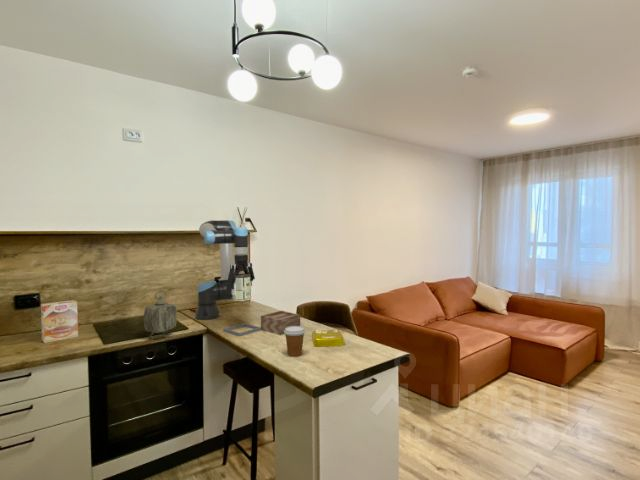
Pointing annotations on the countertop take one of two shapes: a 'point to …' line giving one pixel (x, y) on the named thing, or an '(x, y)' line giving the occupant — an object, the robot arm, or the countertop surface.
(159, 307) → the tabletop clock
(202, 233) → the robot arm
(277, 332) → the block
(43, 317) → the coffeecake box
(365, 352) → the countertop surface
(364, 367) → the countertop surface
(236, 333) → the gray square frame
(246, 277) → the coffee can
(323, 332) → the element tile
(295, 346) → the disposable coffee cup
